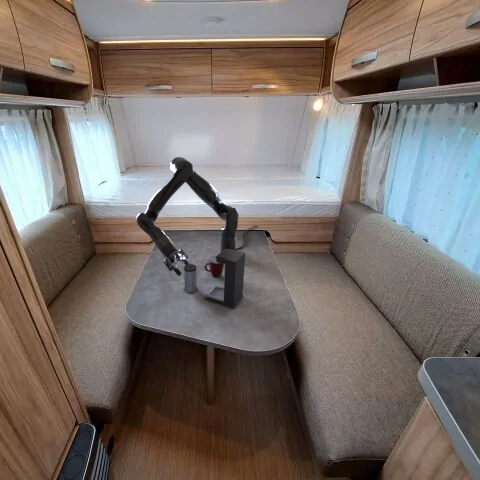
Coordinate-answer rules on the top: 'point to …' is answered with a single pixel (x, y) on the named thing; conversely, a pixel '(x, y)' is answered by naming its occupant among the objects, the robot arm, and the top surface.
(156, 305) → the top surface
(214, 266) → the mug
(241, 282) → the coffee maker
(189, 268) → the lidded canister
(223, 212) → the robot arm
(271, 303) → the top surface
